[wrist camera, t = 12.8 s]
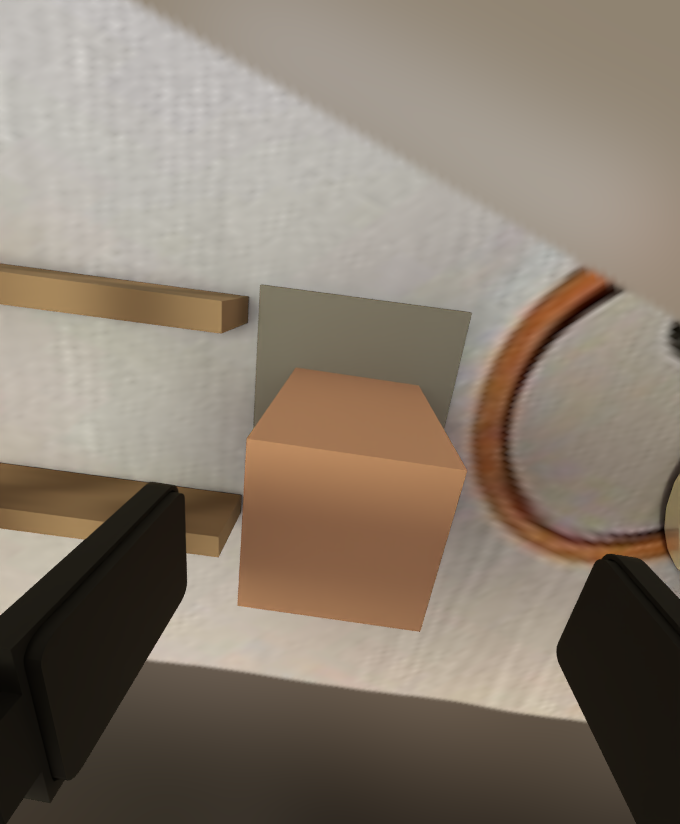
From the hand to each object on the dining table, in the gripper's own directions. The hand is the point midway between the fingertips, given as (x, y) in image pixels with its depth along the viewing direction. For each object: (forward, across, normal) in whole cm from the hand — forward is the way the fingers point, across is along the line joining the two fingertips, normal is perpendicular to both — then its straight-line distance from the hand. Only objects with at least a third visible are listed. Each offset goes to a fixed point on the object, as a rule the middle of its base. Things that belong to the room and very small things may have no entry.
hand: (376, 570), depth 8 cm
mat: (+8, +1, 0) cm, 8 cm away
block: (+8, +1, 0) cm, 8 cm away
